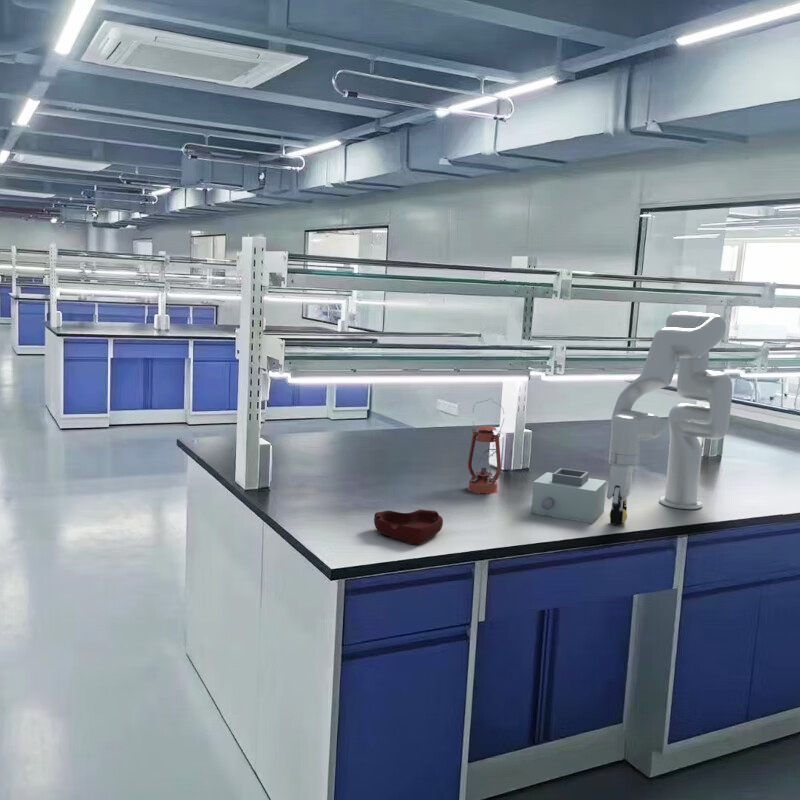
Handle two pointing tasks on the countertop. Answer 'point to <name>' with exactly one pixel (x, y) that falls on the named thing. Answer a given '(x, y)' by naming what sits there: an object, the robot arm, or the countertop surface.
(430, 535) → the ashtray
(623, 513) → the ball
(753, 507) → the countertop surface
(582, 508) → the housing
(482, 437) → the lantern
